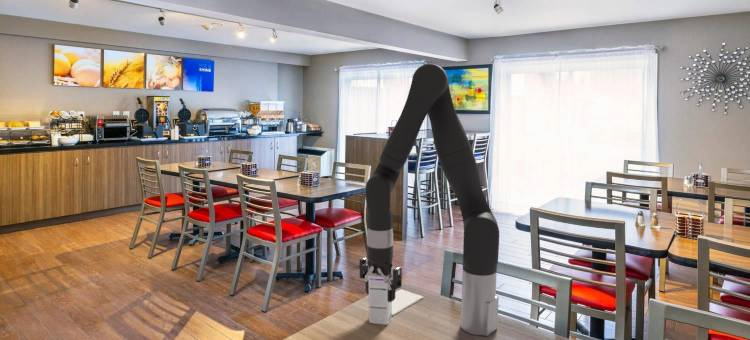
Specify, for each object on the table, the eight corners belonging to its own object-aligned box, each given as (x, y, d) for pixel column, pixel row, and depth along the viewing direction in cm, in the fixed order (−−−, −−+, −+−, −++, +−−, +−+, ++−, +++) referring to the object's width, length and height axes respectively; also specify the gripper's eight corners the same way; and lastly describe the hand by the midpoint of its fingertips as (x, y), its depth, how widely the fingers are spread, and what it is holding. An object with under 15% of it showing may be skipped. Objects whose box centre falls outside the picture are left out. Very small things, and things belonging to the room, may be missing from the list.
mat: (423, 298, 151) (423, 296, 151) (392, 316, 139) (392, 314, 139) (401, 290, 157) (401, 289, 157) (369, 307, 145) (369, 305, 145)
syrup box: (388, 325, 134) (388, 277, 131) (368, 323, 135) (368, 275, 133) (391, 316, 139) (392, 269, 137) (372, 314, 141) (372, 268, 138)
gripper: (408, 244, 132) (407, 299, 134) (369, 234, 141) (369, 286, 143) (391, 251, 126) (391, 309, 129) (352, 241, 135) (353, 294, 138)
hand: (380, 297), depth 136 cm, fingers closed on syrup box, 7 cm apart
